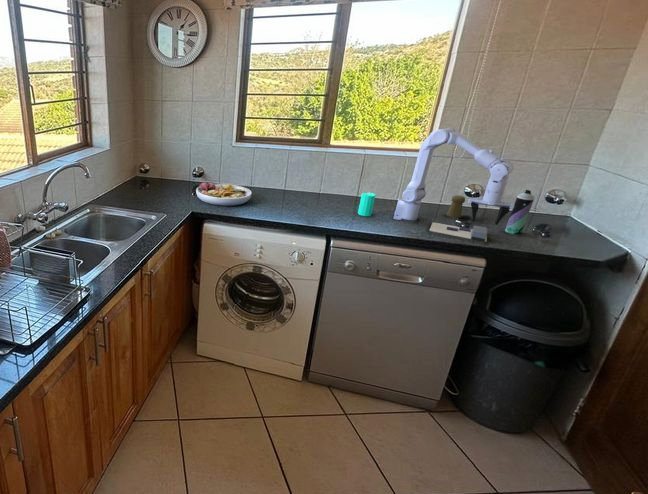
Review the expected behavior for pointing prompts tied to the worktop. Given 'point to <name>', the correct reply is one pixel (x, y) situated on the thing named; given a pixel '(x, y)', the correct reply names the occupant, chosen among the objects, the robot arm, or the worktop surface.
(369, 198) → the candle
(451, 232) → the memo board
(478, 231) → the eraser
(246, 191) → the bowl
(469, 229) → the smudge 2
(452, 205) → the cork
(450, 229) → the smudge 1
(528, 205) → the spray can
